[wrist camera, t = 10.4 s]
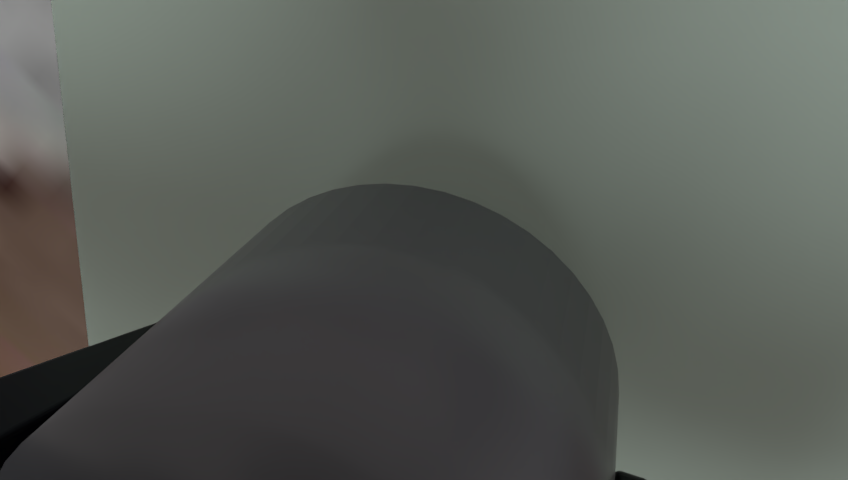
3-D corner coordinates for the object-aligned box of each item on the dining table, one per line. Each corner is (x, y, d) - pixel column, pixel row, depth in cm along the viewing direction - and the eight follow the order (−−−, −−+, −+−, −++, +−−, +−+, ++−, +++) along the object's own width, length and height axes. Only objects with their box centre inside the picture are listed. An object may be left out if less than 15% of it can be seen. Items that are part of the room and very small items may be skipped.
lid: (1260, -121, 8) (1321, -121, 7) (730, 660, 16) (733, 696, 15) (57, -307, 10) (16, -321, 10) (121, 437, 18) (100, 458, 18)
